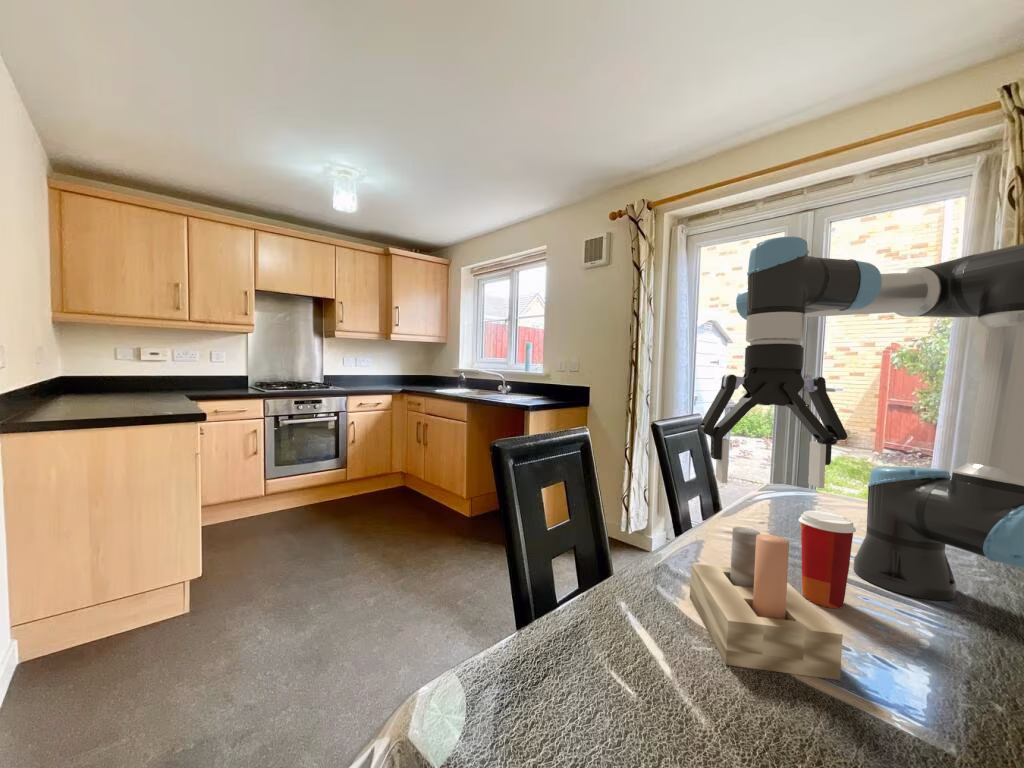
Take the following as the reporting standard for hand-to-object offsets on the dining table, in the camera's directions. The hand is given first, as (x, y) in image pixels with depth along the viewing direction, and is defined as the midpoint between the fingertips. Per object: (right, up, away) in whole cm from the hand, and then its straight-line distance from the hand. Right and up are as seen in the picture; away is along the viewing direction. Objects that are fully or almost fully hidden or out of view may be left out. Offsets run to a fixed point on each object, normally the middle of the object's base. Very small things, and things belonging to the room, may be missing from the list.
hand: (768, 483), depth 65 cm
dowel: (-3, -21, -4) cm, 21 cm away
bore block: (-2, -23, 0) cm, 23 cm away
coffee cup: (+17, -24, +12) cm, 31 cm away
